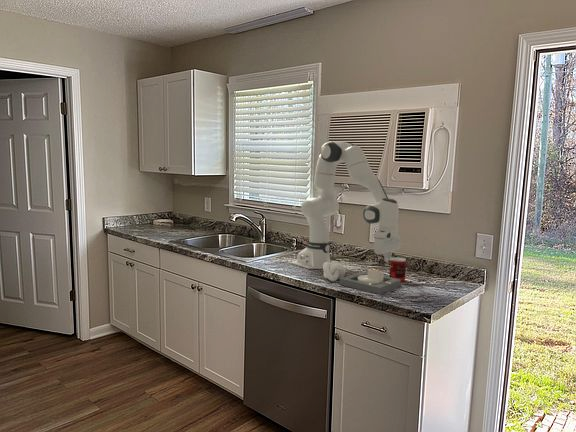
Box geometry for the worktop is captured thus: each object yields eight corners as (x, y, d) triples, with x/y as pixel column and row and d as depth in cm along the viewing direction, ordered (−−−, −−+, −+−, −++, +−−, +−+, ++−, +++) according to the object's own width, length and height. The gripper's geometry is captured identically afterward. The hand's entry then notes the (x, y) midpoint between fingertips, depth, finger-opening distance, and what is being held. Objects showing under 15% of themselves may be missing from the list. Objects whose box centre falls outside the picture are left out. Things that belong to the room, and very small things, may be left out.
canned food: (393, 277, 232) (394, 256, 231) (407, 280, 227) (408, 259, 226) (386, 280, 226) (387, 258, 225) (401, 283, 221) (402, 261, 220)
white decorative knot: (335, 284, 217) (335, 266, 215) (315, 279, 224) (316, 262, 223) (348, 279, 225) (348, 262, 224) (328, 275, 233) (329, 258, 232)
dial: (352, 282, 215) (353, 269, 215) (365, 277, 224) (366, 265, 224) (375, 287, 207) (376, 274, 206) (388, 282, 216) (388, 269, 215)
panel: (339, 284, 216) (339, 278, 215) (361, 277, 231) (361, 271, 230) (379, 294, 201) (380, 287, 201) (400, 285, 217) (400, 279, 216)
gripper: (392, 229, 223) (391, 257, 225) (371, 234, 208) (370, 263, 210) (404, 231, 219) (403, 258, 221) (383, 235, 204) (382, 265, 205)
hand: (387, 261), depth 215 cm, fingers closed
